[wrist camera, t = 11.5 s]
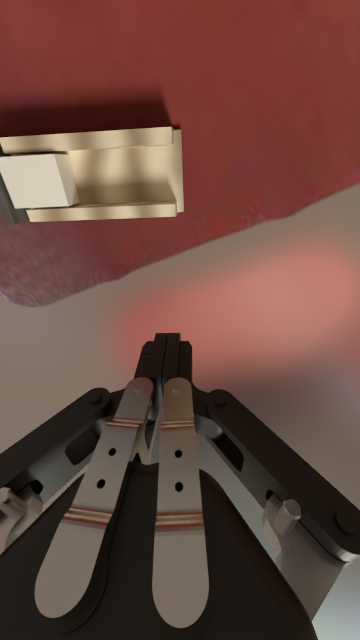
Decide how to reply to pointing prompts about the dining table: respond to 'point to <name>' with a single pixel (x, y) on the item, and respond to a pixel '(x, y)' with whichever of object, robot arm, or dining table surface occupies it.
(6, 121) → the dining table surface
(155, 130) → the birch chute
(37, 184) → the off-white block
